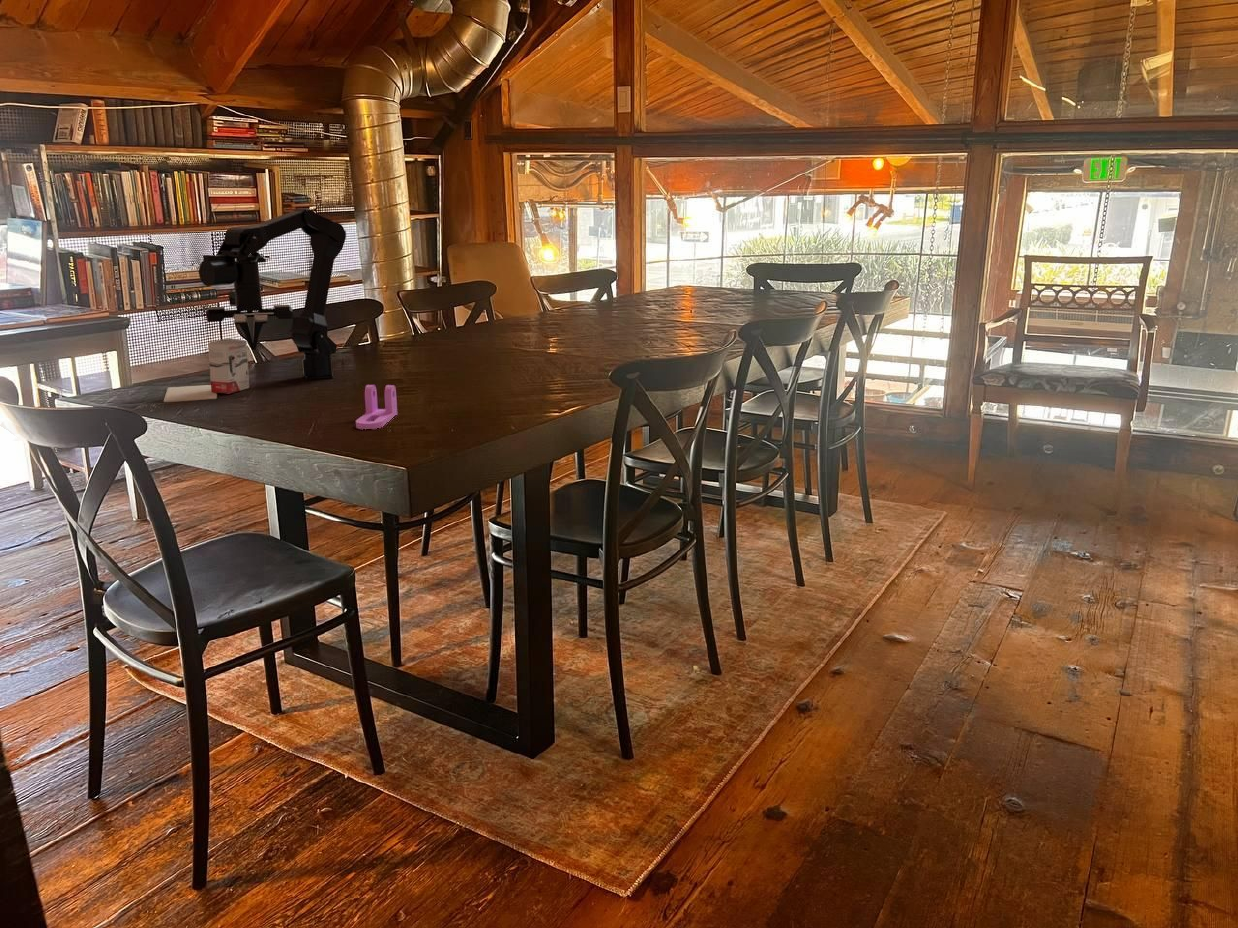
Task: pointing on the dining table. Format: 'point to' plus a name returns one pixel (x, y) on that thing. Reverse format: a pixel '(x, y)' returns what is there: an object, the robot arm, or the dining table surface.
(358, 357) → the dining table surface
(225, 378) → the ink box
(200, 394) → the mat
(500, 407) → the dining table surface
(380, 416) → the bracket
